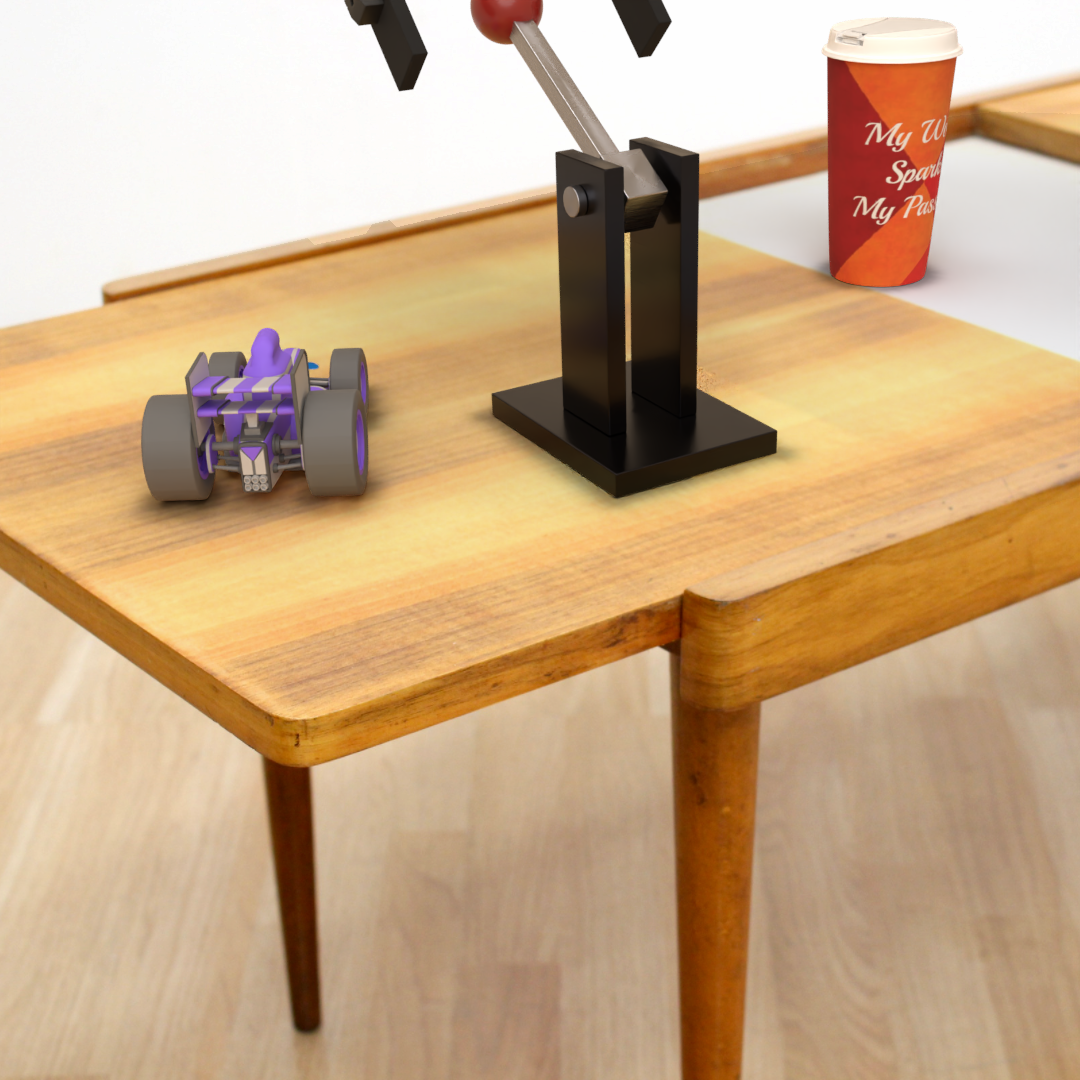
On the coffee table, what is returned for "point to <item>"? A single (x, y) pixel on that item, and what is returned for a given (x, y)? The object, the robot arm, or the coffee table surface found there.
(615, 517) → the coffee table surface
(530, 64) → the lever
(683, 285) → the bracket
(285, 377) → the toy race car
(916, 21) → the coffee cup
